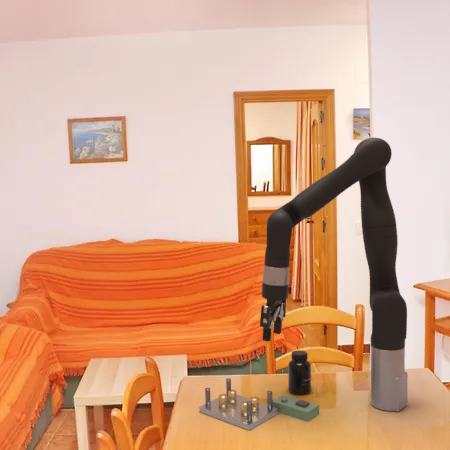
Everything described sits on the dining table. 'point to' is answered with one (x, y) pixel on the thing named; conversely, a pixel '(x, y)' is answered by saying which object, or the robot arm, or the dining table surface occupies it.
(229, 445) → the dining table surface
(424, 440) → the dining table surface
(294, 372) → the supplement bottle
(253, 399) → the chassis
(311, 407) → the board
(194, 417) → the dining table surface
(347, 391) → the dining table surface
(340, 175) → the robot arm
